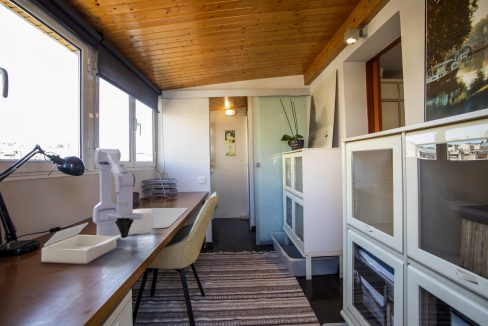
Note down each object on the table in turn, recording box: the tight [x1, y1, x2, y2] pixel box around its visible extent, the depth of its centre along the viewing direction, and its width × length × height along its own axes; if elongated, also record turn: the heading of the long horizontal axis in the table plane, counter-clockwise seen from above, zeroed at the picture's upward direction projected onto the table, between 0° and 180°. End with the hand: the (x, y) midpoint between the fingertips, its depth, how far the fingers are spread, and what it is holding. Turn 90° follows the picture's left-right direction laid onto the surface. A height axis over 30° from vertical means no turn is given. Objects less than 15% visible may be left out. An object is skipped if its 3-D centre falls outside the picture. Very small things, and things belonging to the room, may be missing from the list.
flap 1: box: [43, 222, 89, 247], centre depth 101 cm, size 16×7×1 cm
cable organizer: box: [128, 208, 154, 236], centre depth 133 cm, size 15×11×12 cm
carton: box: [40, 234, 117, 265], centre depth 100 cm, size 18×18×5 cm
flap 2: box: [89, 231, 131, 249], centre depth 99 cm, size 16×7×1 cm, turn 174°
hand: (124, 237), depth 98 cm, fingers closed
